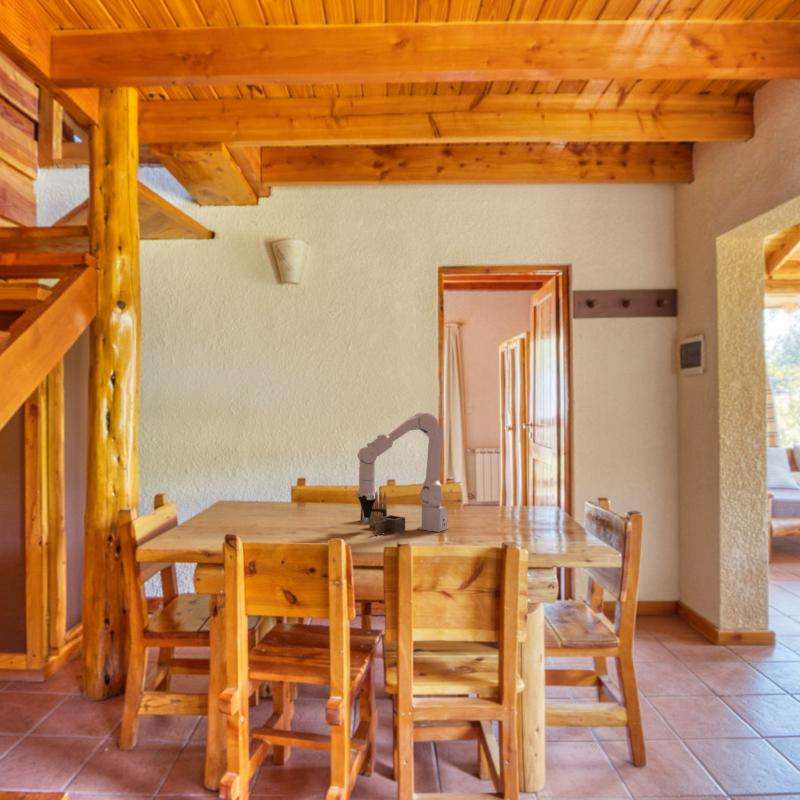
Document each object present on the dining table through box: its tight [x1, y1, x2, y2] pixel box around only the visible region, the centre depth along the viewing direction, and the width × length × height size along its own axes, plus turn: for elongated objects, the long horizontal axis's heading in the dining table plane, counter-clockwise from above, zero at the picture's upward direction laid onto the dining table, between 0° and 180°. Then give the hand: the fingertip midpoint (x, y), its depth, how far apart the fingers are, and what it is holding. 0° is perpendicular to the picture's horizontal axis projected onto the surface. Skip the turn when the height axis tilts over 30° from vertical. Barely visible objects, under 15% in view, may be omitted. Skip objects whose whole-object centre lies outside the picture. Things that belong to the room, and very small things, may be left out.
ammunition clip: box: [360, 490, 388, 520], centre depth 243 cm, size 11×2×12 cm, turn 79°
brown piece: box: [368, 514, 406, 536], centre depth 224 cm, size 14×14×5 cm
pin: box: [362, 514, 370, 524], centre depth 223 cm, size 3×3×8 cm
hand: (366, 516), depth 223 cm, fingers closed on pin, 3 cm apart
